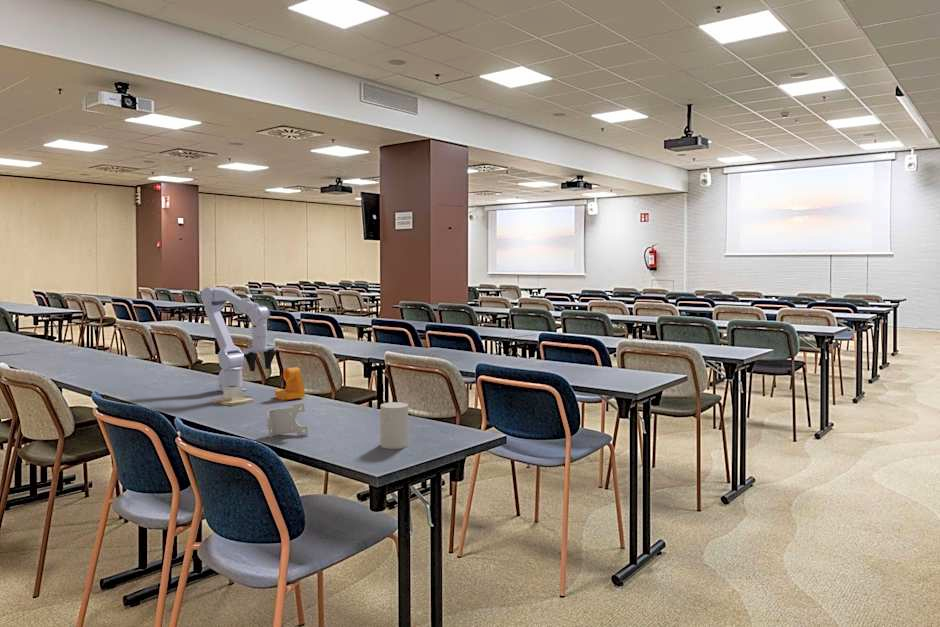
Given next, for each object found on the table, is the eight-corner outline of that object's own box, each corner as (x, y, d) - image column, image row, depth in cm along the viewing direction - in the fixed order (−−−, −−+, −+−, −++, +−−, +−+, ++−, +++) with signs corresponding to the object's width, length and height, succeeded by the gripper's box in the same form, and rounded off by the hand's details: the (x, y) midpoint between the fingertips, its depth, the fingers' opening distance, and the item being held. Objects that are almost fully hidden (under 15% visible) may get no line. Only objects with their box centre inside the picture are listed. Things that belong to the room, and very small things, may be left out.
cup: (381, 441, 211) (381, 402, 210) (408, 441, 212) (408, 402, 211) (379, 448, 203) (379, 408, 202) (407, 448, 203) (407, 407, 203)
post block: (211, 402, 266) (211, 386, 266) (234, 397, 274) (234, 382, 274) (231, 406, 259) (231, 390, 259) (253, 401, 267) (253, 386, 267)
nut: (223, 399, 266) (223, 386, 265) (234, 397, 270) (234, 384, 270) (231, 401, 263) (231, 388, 263) (242, 399, 267) (242, 386, 267)
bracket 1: (274, 397, 276) (273, 367, 275) (290, 395, 282) (289, 365, 281) (288, 401, 269) (288, 370, 268) (304, 398, 274) (304, 368, 273)
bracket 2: (269, 440, 215) (265, 408, 214) (275, 437, 219) (271, 405, 219) (304, 437, 213) (299, 405, 213) (309, 434, 218) (304, 402, 217)
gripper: (251, 338, 272) (251, 373, 273) (280, 335, 284) (281, 368, 285) (239, 337, 276) (240, 371, 277) (269, 334, 288) (269, 367, 289)
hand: (260, 369), depth 281 cm, fingers open, 7 cm apart
